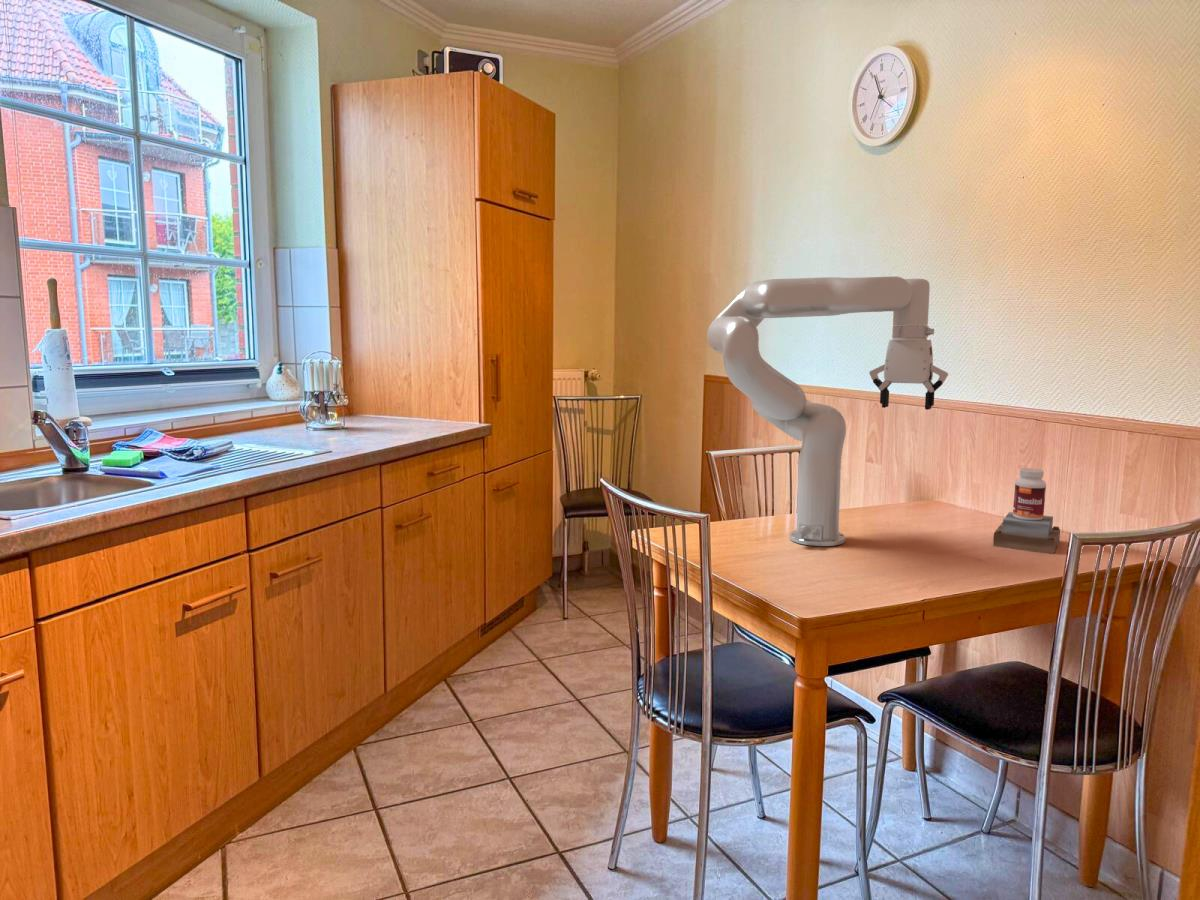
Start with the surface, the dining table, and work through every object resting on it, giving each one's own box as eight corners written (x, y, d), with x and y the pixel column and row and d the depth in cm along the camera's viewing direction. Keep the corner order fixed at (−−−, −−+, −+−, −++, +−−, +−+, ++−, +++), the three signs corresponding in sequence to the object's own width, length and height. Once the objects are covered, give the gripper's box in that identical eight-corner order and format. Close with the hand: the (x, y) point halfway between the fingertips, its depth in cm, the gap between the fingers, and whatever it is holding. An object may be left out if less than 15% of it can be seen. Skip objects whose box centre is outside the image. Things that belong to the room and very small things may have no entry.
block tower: (1053, 553, 177) (1055, 526, 176) (993, 545, 184) (994, 519, 183) (1059, 541, 187) (1061, 516, 186) (1001, 534, 194) (1003, 509, 193)
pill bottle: (1013, 520, 183) (1017, 471, 181) (1011, 514, 188) (1014, 467, 187) (1045, 522, 181) (1049, 473, 179) (1041, 516, 186) (1045, 468, 185)
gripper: (953, 333, 185) (949, 408, 188) (876, 333, 195) (873, 405, 198) (946, 333, 179) (942, 411, 182) (866, 334, 189) (864, 407, 192)
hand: (906, 408), depth 190 cm, fingers open, 9 cm apart
